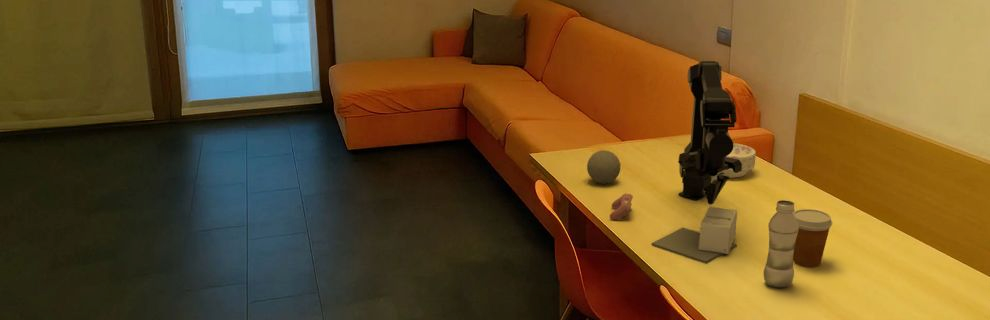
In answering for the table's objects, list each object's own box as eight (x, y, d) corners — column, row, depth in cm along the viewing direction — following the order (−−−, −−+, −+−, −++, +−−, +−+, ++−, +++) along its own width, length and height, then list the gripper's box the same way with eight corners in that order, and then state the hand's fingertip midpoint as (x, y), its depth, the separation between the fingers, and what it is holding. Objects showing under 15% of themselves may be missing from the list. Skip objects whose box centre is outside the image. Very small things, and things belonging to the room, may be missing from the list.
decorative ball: (580, 184, 271) (581, 152, 268) (596, 175, 279) (597, 144, 276) (610, 190, 266) (611, 158, 263) (625, 180, 274) (626, 149, 271)
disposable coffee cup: (807, 273, 212) (812, 226, 208) (777, 258, 220) (781, 212, 216) (836, 265, 216) (841, 218, 212) (806, 250, 224) (811, 205, 220)
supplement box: (738, 209, 229) (731, 227, 218) (735, 235, 232) (728, 255, 221) (708, 205, 232) (700, 223, 221) (706, 231, 234) (698, 250, 223)
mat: (682, 229, 237) (682, 227, 237) (736, 246, 227) (736, 244, 226) (651, 245, 228) (651, 243, 228) (706, 263, 217) (706, 261, 217)
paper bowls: (760, 170, 282) (762, 146, 279) (745, 184, 269) (746, 159, 267) (713, 162, 289) (714, 138, 287) (696, 176, 277) (697, 151, 275)
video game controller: (622, 226, 244) (635, 205, 241) (608, 219, 244) (620, 197, 241) (624, 213, 253) (637, 193, 250) (610, 205, 253) (622, 185, 251)
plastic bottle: (758, 279, 209) (765, 198, 203) (786, 277, 210) (794, 197, 203) (768, 291, 203) (776, 208, 197) (797, 290, 203) (806, 207, 197)
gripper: (706, 130, 235) (703, 187, 240) (665, 146, 223) (662, 205, 228) (745, 139, 228) (740, 197, 233) (704, 156, 215) (700, 216, 220)
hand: (710, 203), depth 229 cm, fingers closed
